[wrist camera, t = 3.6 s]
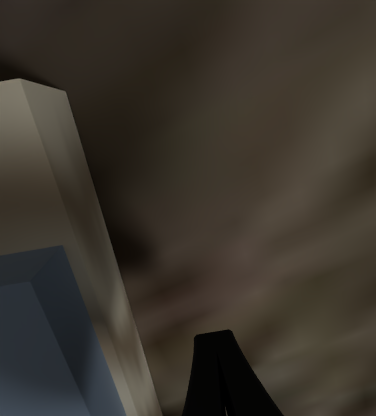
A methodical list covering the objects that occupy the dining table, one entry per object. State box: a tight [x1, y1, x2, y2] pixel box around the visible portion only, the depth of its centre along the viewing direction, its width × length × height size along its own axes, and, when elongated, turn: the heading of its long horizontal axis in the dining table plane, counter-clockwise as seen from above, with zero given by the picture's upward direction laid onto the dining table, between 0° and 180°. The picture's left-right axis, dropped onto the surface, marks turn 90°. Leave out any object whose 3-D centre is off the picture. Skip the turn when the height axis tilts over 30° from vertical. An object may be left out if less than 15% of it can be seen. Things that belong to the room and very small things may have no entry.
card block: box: [0, 245, 127, 416], centre depth 9 cm, size 10×7×2 cm
